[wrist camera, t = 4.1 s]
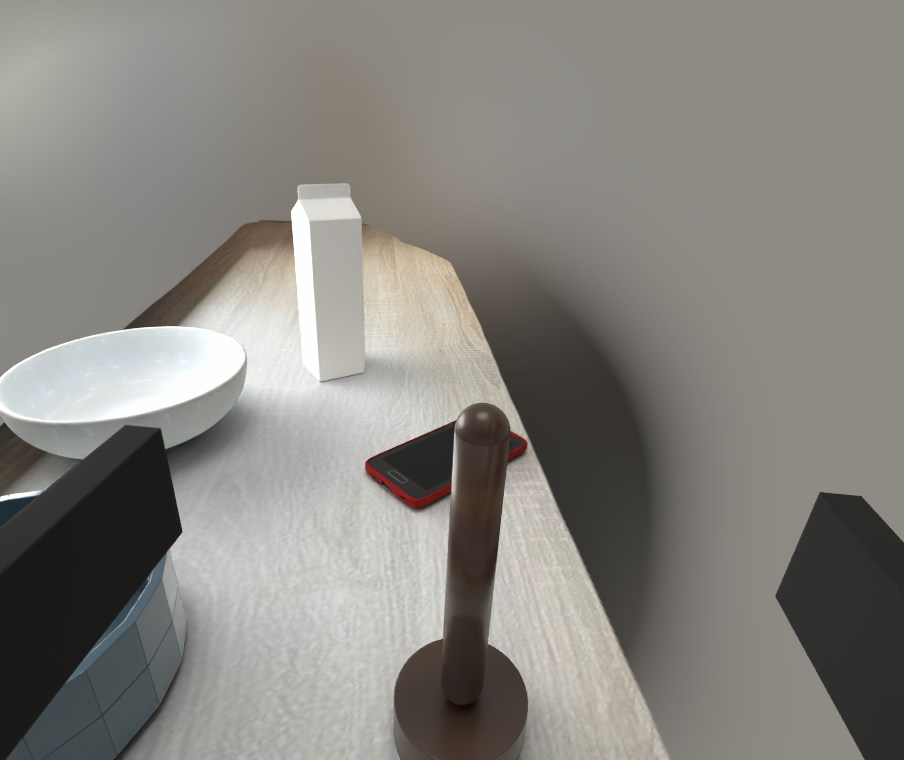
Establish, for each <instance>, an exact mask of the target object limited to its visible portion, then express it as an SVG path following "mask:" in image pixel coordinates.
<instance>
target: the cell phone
mask: <svg viewBox="0 0 904 760" xmlns="http://www.w3.org/2000/svg"><path fill="white" fill-rule="evenodd" d="M456 421H457V420H456ZM456 421H454V422H451V423H449V424H447V425H448V426H447V425H444V426H442V427H440V428H441V429H440V428H437V429H435V430H433V431H431V432H428V433H426V434H424V435H421V436H419V437H417V438H414V439H412V440H410V441H408V442H405V443H403V444H401V445H398V446H396V447H394V448H392V449H389V450H387V451H385V452H382V453H380V454H378V455H376V456H374V457H372V458H370V459H368V460H367V461H366V462H365V470H366V471H367V473H368V474H369V475H371V476H372V477H373V478H376V480H377V481H378V482H380V483H381V484H382V485H384V484H385V485H386V486H388V487H389V488H390V489H391V492H392V493H394V494H395V495H396V496H397V497H399V498H400V499H401V500H402V501H404V502H405V503H406V504H408V505H409V506H411V507H414V508H420V507H422V506H425V505H427V504H429V503H431V502H433V501H434V500H436V499H438V498H440V497H442V496H444V495H445V494H447V493H449V492H451V485H452V467H453V449H454V431H455V424H456ZM526 449H527V441H526V440H525V439H524V438H522V437H520V436H519V435H517V434H515V433H513V432H511V431H510V440H509V450H508V459H507V461H508V460H510V459H512V458H514V457H516V456H517V455H519V454H521V453H523V452H524V451H525V450H526Z"/></svg>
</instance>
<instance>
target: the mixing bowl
mask: <svg viewBox="0 0 904 760" xmlns="http://www.w3.org/2000/svg"><path fill="white" fill-rule="evenodd" d="M44 491H45V490H41V491H33V492H26V493H18V494H11V495H6V496H2V497H0V527H1V526H2V525H3V524H5V523H6V522H7V521H8V520H9V519H11V518H12V517H13V516H14V515H16V514H17V513H18V512H19V511H20V510H22V509H23V508H24V507H25V506H27V505H28V504H29V503H30V502H31V501H33V500H34V499H35V498H36V497H38V496H39V495H40V494H41V493H42V492H44ZM186 626H187V621H186V616H185V612H184V608H183V604H182V599H181V595H180V591H179V587H178V582H177V578H176V574H175V570H174V565H173V561H172V557H171V552H170V549H169V550H168V551H167V553H166V554H165V555H164V557H163V558H162V559H161V560H160V562H159V563H158V564H157V566H156V567H155V568H154V569H153V571H152V572H151V573H150V575H149V576H148V577H147V578H146V580H145V581H144V582H143V584H142V585H141V586H140V587H139V589H138V590H137V591H136V593H135V594H134V595H133V596H132V598H131V599H130V600H129V602H128V603H127V604H126V605H125V607H124V608H123V609H122V611H121V612H120V613H119V615H118V616H117V617H116V618H115V620H114V621H113V622H112V624H111V625H110V626H109V627H108V629H107V630H106V631H105V633H104V634H103V635H102V636H101V638H100V639H99V640H98V642H97V643H96V644H95V645H94V647H93V648H92V649H91V651H90V652H89V653H88V654H87V656H86V657H85V658H84V660H83V661H82V662H81V663H80V665H79V666H78V667H77V669H76V670H75V671H74V672H73V674H72V675H71V676H70V678H69V679H68V680H67V682H66V683H65V684H64V685H63V687H62V688H61V689H60V691H59V692H58V693H57V694H56V696H55V697H54V698H53V700H52V701H51V702H50V703H49V705H48V706H47V707H46V709H45V710H44V711H43V712H42V714H41V715H40V716H39V718H38V719H37V720H36V721H35V723H34V724H33V725H32V727H31V728H30V729H29V730H28V732H27V733H26V734H25V736H24V737H23V738H22V739H21V741H20V742H19V743H18V745H17V746H16V747H15V748H14V750H13V751H12V752H11V754H10V755H9V756H8V758H7V759H6V760H113V759H114V758H116V757H117V755H118V754H119V753H120V752H121V751H122V750H123V748H124V747H125V746H126V745H127V744H128V742H129V741H130V740H131V739H132V738H133V737H134V735H135V734H136V733H137V732H138V731H139V729H140V728H141V727H142V726H143V725H144V724H145V722H146V721H147V720H148V719H149V718H150V716H151V715H152V714H153V713H154V712H155V710H156V709H157V708H158V707H159V705H160V703H161V701H162V699H163V697H164V695H165V693H166V691H167V689H168V687H169V685H170V683H171V681H172V679H173V677H174V675H175V673H176V671H177V669H178V667H179V665H180V663H181V660H182V657H183V649H184V642H185V634H186Z"/></svg>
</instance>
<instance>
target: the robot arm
mask: <svg viewBox="0 0 904 760" xmlns="http://www.w3.org/2000/svg"><path fill="white" fill-rule="evenodd" d="M181 533H182V527H181V522H180V517H179V512H178V508H177V503H176V498H175V493H174V488H173V484H172V479H171V474H170V469H169V464H168V460H167V455H166V450H165V445H164V440H163V436H162V431H161V428H153V427H143V426H133V425H124V426H123V427H122V428H121V429H120V430H118V431H117V432H116V433H115V434H113V435H112V436H111V437H110V438H109V439H107V440H106V441H105V442H104V443H102V444H101V445H100V446H99V447H98V448H96V449H95V450H94V451H93V452H91V453H90V454H89V455H88V456H86V457H85V458H84V459H83V460H82V461H80V462H79V463H78V464H77V465H75V466H74V467H73V468H72V469H71V470H69V471H68V472H67V473H66V474H64V475H63V476H62V477H61V478H60V479H58V480H57V481H56V482H55V483H53V484H52V485H51V486H50V487H49V488H47V489H46V490H45V491H44V492H42V493H41V494H40V495H39V496H38V497H36V498H35V499H34V500H33V501H31V502H30V503H29V504H28V505H27V506H25V507H24V508H23V509H22V510H20V511H19V512H18V513H17V514H16V515H14V516H13V517H12V518H11V519H9V520H8V521H7V522H6V523H5V524H3V525H2V526H1V527H0V760H6V759H7V758H8V756H9V755H10V754H11V752H12V751H13V750H14V748H15V747H16V746H17V745H18V743H19V742H20V741H21V739H22V738H23V737H24V736H25V734H26V733H27V732H28V730H29V729H30V728H31V727H32V725H33V724H34V723H35V721H36V720H37V719H38V718H39V716H40V715H41V714H42V712H43V711H44V710H45V709H46V707H47V706H48V705H49V703H50V702H51V701H52V700H53V698H54V697H55V696H56V694H57V693H58V692H59V691H60V689H61V688H62V687H63V685H64V684H65V683H66V682H67V680H68V679H69V678H70V676H71V675H72V674H73V672H74V671H75V670H76V669H77V667H78V666H79V665H80V663H81V662H82V661H83V660H84V658H85V657H86V656H87V654H88V653H89V652H90V651H91V649H92V648H93V647H94V645H95V644H96V643H97V642H98V640H99V639H100V638H101V636H102V635H103V634H104V633H105V631H106V630H107V629H108V627H109V626H110V625H111V624H112V622H113V621H114V620H115V618H116V617H117V616H118V615H119V613H120V612H121V611H122V609H123V608H124V607H125V605H126V604H127V603H128V602H129V600H130V599H131V598H132V596H133V595H134V594H135V593H136V591H137V590H138V589H139V587H140V586H141V585H142V584H143V582H144V581H145V580H146V578H147V577H148V576H149V575H150V573H151V572H152V571H153V569H154V568H155V567H156V566H157V564H158V563H159V562H160V560H161V559H162V558H163V557H164V555H165V554H166V553H167V551H168V550H169V549H170V548H171V546H172V545H173V544H174V542H175V541H176V540H177V538H178V537H179V536H180V535H181ZM776 599H777V600H778V602H779V604H780V606H781V608H782V609H783V611H784V613H785V615H786V617H787V619H788V620H789V622H790V624H791V626H792V628H793V629H794V631H795V633H796V635H797V637H798V639H799V641H800V642H801V644H802V646H803V648H804V649H805V651H806V653H807V655H808V657H809V659H810V660H811V662H812V664H813V666H814V667H815V669H816V672H817V673H818V675H819V677H820V679H821V681H822V682H823V684H824V686H825V688H826V690H827V692H828V693H829V695H830V697H831V699H832V701H833V703H834V704H835V706H836V708H837V710H838V711H839V714H840V715H841V717H842V719H843V721H844V722H845V725H846V726H847V728H848V730H849V732H850V734H851V735H852V737H853V739H854V741H855V743H856V744H857V746H858V748H859V750H860V752H861V754H862V756H863V757H864V759H865V760H904V542H903V541H902V540H901V539H900V538H899V537H898V536H897V535H896V534H895V533H894V531H893V530H892V529H891V528H890V527H889V526H888V525H887V524H886V523H885V522H884V521H883V519H882V518H881V517H880V516H879V515H878V514H877V513H876V512H875V511H874V510H873V508H872V507H871V506H870V505H869V504H868V503H867V502H866V501H865V500H864V499H863V498H862V496H854V495H844V494H833V493H823V492H820V493H819V495H818V498H817V500H816V502H815V505H814V507H813V510H812V512H811V514H810V516H809V519H808V521H807V524H806V526H805V528H804V530H803V533H802V535H801V537H800V540H799V542H798V544H797V547H796V549H795V551H794V554H793V556H792V558H791V561H790V563H789V565H788V568H787V570H786V573H785V575H784V577H783V579H782V582H781V584H780V587H779V589H778V591H777V593H776Z"/></svg>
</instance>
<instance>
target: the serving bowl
mask: <svg viewBox="0 0 904 760" xmlns="http://www.w3.org/2000/svg"><path fill="white" fill-rule="evenodd" d="M246 367H247V355H246V352H245V349H244V348H243V346H242V345H241V344H240V343H239V342H237V341H236V340H235V339H233V338H231V337H229V336H227V335H224V334H222V333H219V332H215V331H210V330H205V329H199V328H191V327H148V328H137V329H128V330H121V331H114V332H109V333H103V334H98V335H93V336H89V337H85V338H81V339H77V340H74V341H71V342H67V343H64V344H61V345H58V346H55V347H52V348H50V349H47V350H45V351H43V352H40V353H38V354H36V355H34V356H31V357H29V358H27V359H26V360H24V361H22V362H20V363H19V364H17V365H16V366H14V367H12V368H11V369H10V370H9V371H7V372H6V373H5V374H4V375H3V376H2V377H1V378H0V416H1V417H2V419H3V420H4V422H5V423H6V424H7V425H8V427H9V428H10V429H11V430H12V431H13V432H14V433H15V434H16V435H17V436H19V437H20V438H21V439H23V440H24V441H26V442H27V443H29V444H31V445H32V446H34V447H37V448H39V449H41V450H43V451H46V452H49V453H52V454H55V455H59V456H64V457H69V458H74V459H84V458H85V457H86V456H88V455H89V454H90V453H91V452H93V451H94V450H95V449H96V448H98V447H99V446H100V445H101V444H102V443H104V442H105V441H106V440H107V439H109V438H110V437H111V436H112V435H113V434H115V433H116V432H117V431H118V430H120V429H121V428H122V427H123V426H124V425H133V426H143V427H153V428H161V431H162V436H163V440H164V445H165V449H167V448H170V447H173V446H176V445H178V444H181V443H183V442H185V441H188V440H190V439H192V438H194V437H196V436H197V435H199V434H201V433H203V432H204V431H206V430H207V429H209V428H210V427H212V426H213V425H215V424H216V423H217V422H218V421H219V420H221V419H222V418H223V417H224V416H225V415H226V414H227V413H228V412H229V410H230V409H231V408H232V407H233V405H234V404H235V402H236V401H237V399H238V397H239V395H240V393H241V391H242V389H243V385H244V382H245V377H246Z"/></svg>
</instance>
